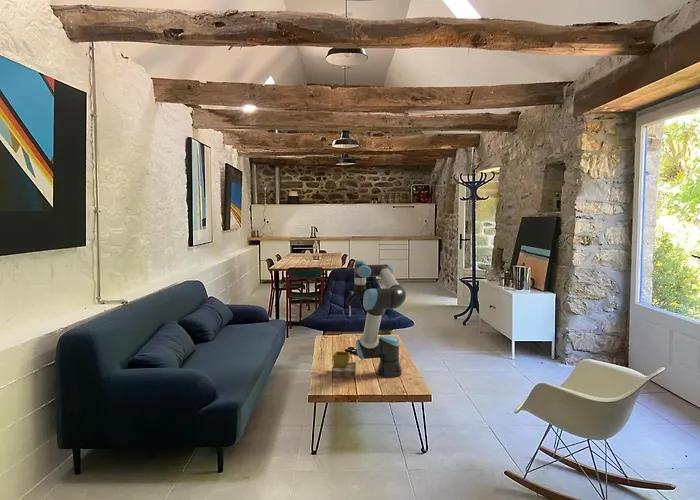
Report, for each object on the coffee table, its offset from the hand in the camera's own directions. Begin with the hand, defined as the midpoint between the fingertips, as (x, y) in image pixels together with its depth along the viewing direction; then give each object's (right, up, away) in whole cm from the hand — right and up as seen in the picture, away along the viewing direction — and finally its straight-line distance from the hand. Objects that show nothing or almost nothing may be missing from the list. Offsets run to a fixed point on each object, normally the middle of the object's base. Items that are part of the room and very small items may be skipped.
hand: (360, 316), depth 320 cm
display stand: (-10, -33, -18) cm, 39 cm away
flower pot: (-12, -30, -19) cm, 37 cm away
